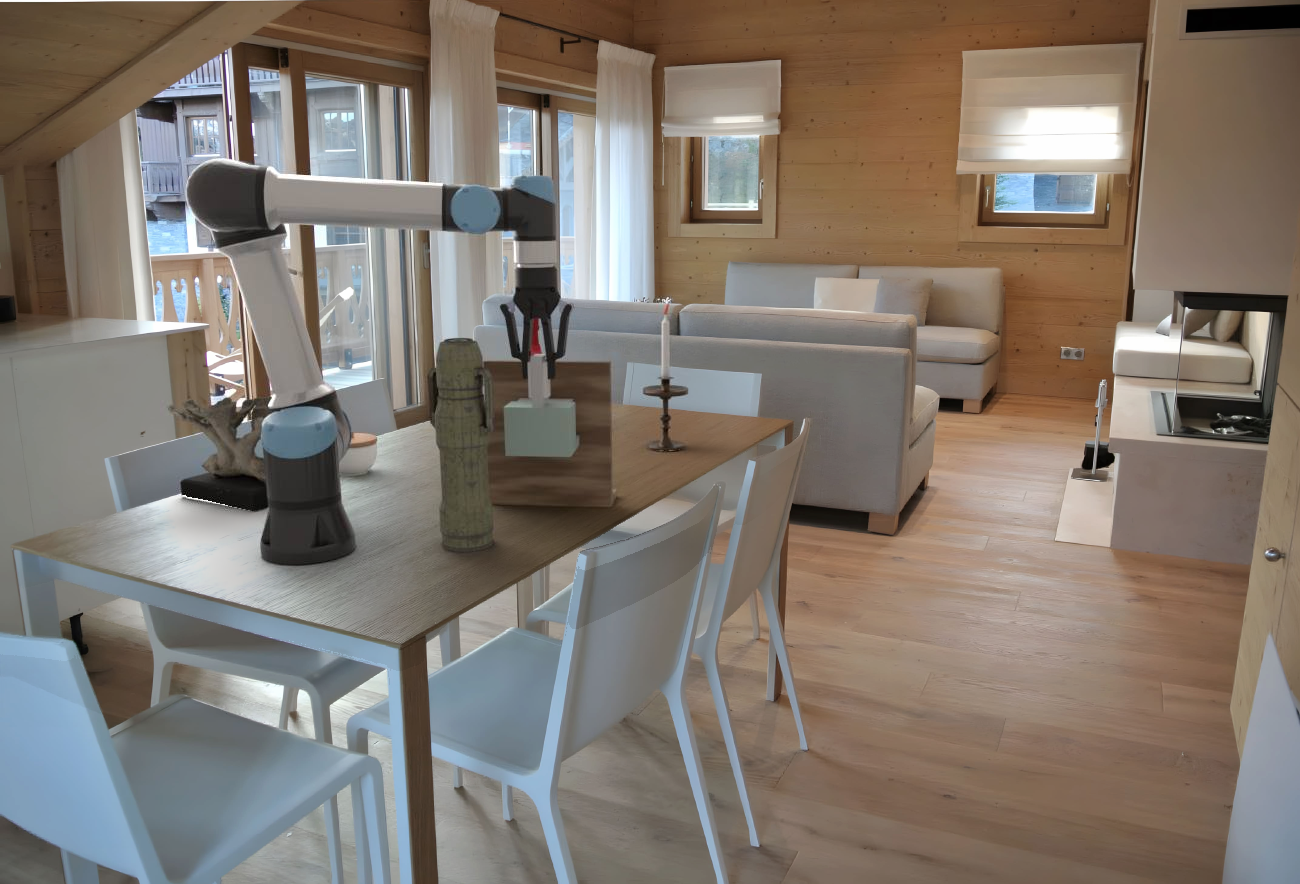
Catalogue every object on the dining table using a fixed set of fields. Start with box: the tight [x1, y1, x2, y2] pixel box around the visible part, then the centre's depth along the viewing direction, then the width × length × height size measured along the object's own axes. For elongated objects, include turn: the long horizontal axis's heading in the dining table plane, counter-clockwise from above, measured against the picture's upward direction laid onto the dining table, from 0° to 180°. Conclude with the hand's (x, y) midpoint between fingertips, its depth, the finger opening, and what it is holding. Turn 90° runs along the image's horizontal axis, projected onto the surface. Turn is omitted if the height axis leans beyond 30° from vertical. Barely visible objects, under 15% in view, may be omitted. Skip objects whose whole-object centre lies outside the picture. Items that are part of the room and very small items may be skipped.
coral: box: [166, 396, 273, 513], centre depth 197 cm, size 25×20×22 cm
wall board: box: [483, 359, 618, 508], centre depth 194 cm, size 11×24×28 cm, turn 84°
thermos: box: [426, 337, 495, 553], centre depth 169 cm, size 9×12×35 cm
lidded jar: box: [339, 430, 378, 477], centre depth 220 cm, size 11×11×9 cm
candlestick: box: [642, 301, 689, 451], centre depth 240 cm, size 11×11×35 cm
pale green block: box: [504, 353, 579, 457], centre depth 186 cm, size 9×12×18 cm
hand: (539, 396), depth 184 cm, fingers closed on pale green block, 2 cm apart
